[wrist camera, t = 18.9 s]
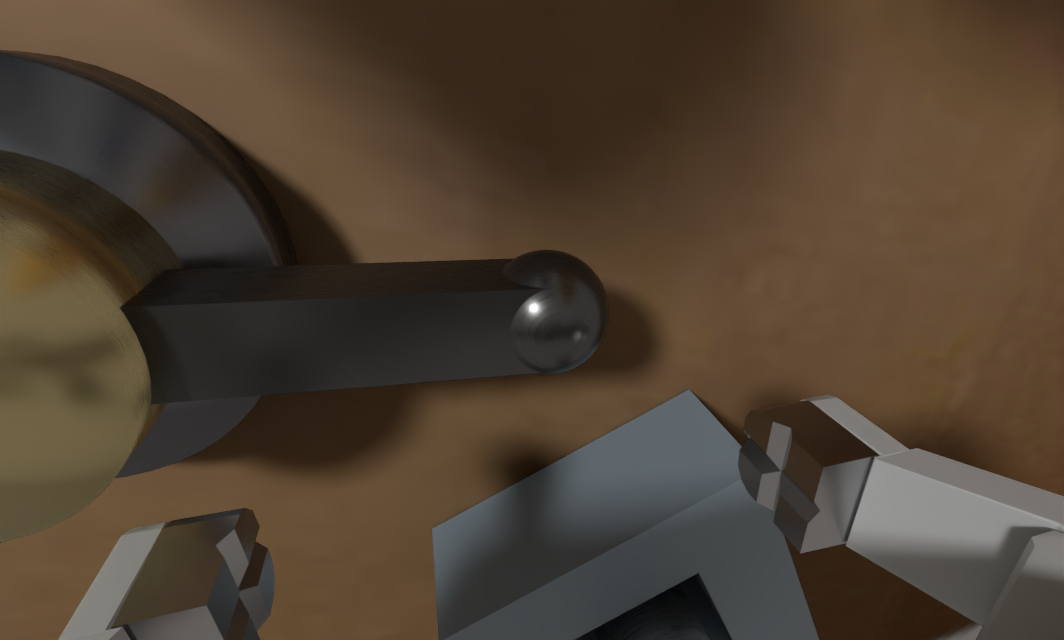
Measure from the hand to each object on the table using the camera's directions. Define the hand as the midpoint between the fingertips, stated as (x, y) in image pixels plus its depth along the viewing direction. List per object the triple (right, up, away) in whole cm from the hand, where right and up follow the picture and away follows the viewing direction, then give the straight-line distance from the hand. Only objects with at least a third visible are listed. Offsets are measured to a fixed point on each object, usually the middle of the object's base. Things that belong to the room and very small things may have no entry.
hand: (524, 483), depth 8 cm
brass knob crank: (-6, +3, +2) cm, 7 cm away
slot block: (+3, -6, +11) cm, 13 cm away
